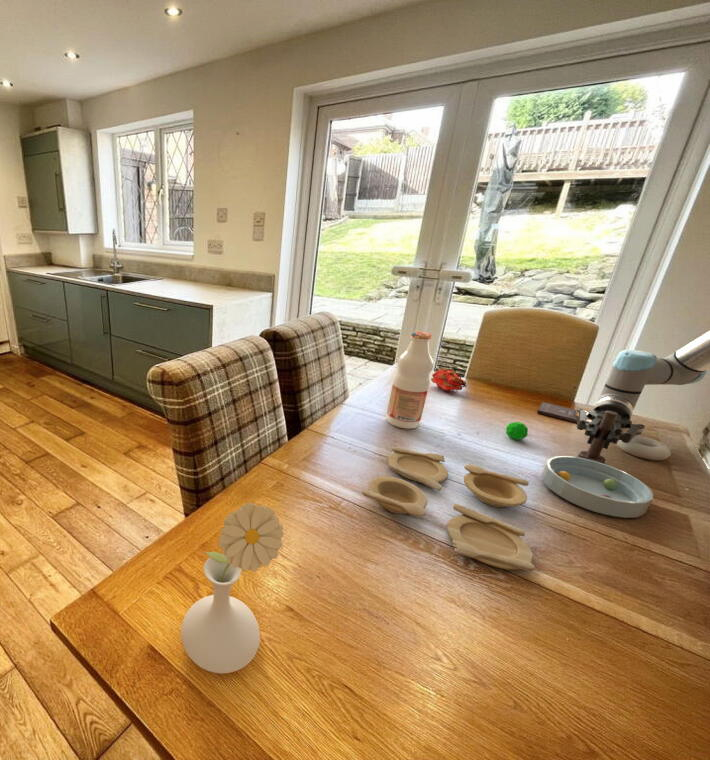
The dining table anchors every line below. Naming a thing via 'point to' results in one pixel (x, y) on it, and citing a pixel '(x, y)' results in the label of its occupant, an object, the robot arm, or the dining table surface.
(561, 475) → the bead
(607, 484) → the bead
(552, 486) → the bowl
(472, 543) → the tableware set
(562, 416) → the chocolate bar
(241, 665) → the flower in vase
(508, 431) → the polyhedron
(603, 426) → the brown wooden peg
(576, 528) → the dining table surface
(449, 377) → the dragon fruit
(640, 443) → the donut
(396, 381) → the fruit juice
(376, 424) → the dining table surface
